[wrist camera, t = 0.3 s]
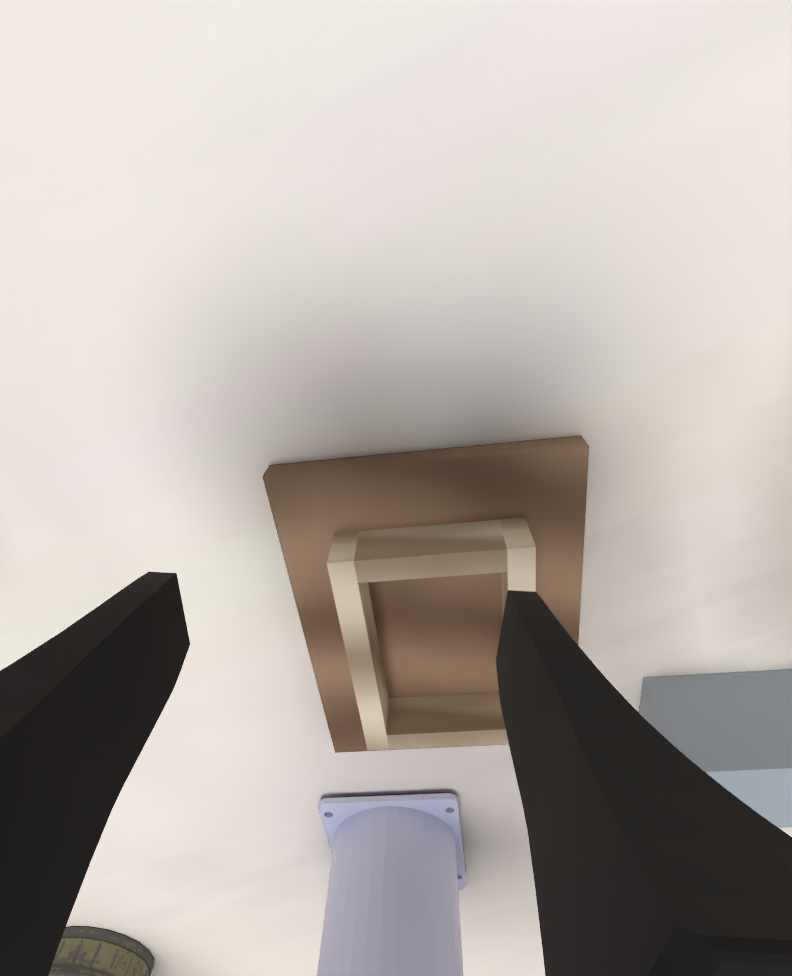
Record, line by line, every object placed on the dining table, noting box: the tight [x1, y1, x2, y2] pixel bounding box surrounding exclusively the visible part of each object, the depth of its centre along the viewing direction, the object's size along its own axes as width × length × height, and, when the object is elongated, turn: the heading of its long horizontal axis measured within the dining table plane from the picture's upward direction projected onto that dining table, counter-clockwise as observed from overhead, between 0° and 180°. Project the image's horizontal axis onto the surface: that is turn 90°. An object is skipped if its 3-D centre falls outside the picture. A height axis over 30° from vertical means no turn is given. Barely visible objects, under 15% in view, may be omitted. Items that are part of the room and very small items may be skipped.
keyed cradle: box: [263, 436, 589, 752], centre depth 23 cm, size 16×12×3 cm
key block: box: [639, 669, 792, 827], centre depth 24 cm, size 4×7×5 cm, turn 97°
